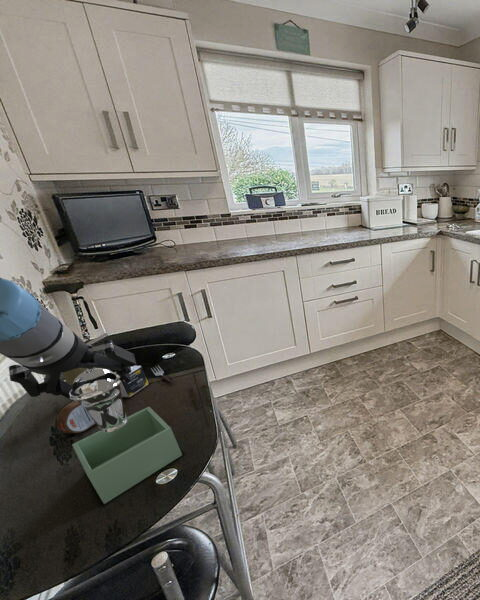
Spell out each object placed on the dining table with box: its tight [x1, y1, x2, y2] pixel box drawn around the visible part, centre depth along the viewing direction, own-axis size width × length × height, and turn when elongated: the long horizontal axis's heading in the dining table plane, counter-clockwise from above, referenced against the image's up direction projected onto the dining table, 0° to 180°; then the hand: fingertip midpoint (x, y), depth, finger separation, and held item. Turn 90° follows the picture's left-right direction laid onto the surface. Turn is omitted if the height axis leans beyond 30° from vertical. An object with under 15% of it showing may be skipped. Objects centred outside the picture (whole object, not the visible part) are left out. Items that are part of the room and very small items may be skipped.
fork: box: [151, 365, 174, 385], centre depth 110 cm, size 3×16×2 cm, turn 53°
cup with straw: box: [69, 332, 128, 433], centre depth 68 cm, size 8×9×20 cm
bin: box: [71, 406, 183, 505], centre depth 74 cm, size 15×15×8 cm
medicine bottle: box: [111, 365, 149, 398], centre depth 103 cm, size 7×7×12 cm
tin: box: [56, 393, 122, 434], centre depth 90 cm, size 15×3×8 cm, turn 168°
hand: (101, 384), depth 71 cm, fingers closed on cup with straw, 8 cm apart
